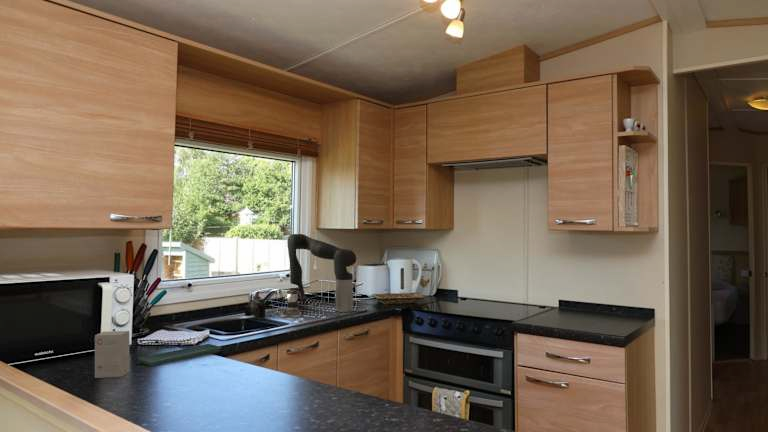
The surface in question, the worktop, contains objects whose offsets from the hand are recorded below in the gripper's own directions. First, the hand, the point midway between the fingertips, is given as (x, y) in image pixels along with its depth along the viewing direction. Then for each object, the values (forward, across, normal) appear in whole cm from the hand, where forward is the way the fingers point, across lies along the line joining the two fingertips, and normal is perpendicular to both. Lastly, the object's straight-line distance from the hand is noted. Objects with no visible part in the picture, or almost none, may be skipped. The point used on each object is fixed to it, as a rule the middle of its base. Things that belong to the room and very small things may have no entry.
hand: (292, 301), depth 280 cm
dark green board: (+94, -32, +7) cm, 100 cm away
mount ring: (+10, 0, +6) cm, 12 cm away
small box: (+114, -48, +6) cm, 124 cm away
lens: (-1, 0, +6) cm, 6 cm away
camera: (+13, -18, +6) cm, 23 cm away
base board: (+10, 0, +6) cm, 12 cm away
